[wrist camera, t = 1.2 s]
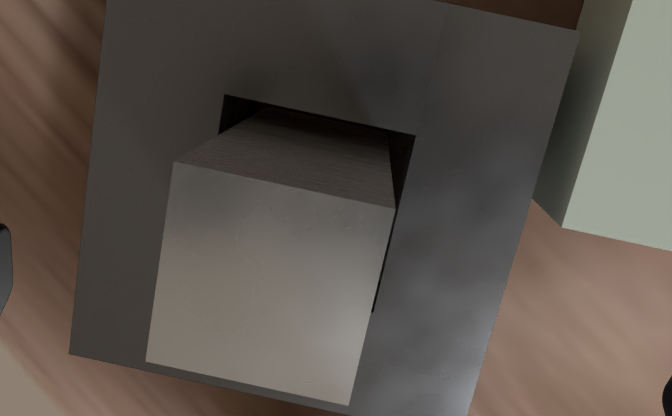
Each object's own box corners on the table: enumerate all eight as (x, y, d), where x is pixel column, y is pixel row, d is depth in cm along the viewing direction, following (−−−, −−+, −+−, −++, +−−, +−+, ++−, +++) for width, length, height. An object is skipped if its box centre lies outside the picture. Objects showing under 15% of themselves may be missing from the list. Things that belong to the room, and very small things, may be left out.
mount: (445, 372, 23) (460, 439, 19) (120, 301, 23) (68, 353, 19) (540, 34, 20) (581, 31, 16) (164, -47, 20) (113, -69, 16)
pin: (360, 245, 22) (348, 405, 12) (247, 221, 22) (145, 361, 12) (386, 132, 21) (395, 209, 11) (267, 106, 21) (173, 161, 11)
